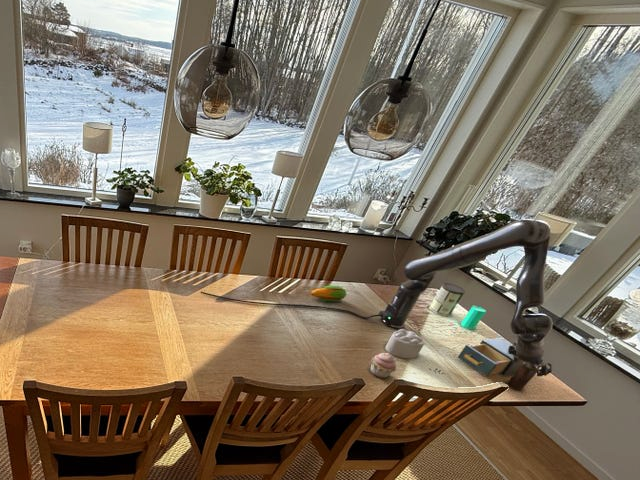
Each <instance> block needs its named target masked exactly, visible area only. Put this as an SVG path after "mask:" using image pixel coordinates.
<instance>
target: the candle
mask: <svg viewBox="0 0 640 480" xmlns="http://www.w3.org/2000/svg"><path fill="white" fill-rule="evenodd" d="M486 313H487V310H486V309H484V308H482V306H476V305H472V306H471V308H470V309H469V311H467V313H466V315H465V316H464V318H463V320H462V321H461V322H460V326H462V328H464V329H467V330H469V331H470V330H471V331H472V330H475V328H476V327H477V326H478V324H479V323H480V321H481V320H482V318H483V317H484V316H485V314H486Z"/></svg>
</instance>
